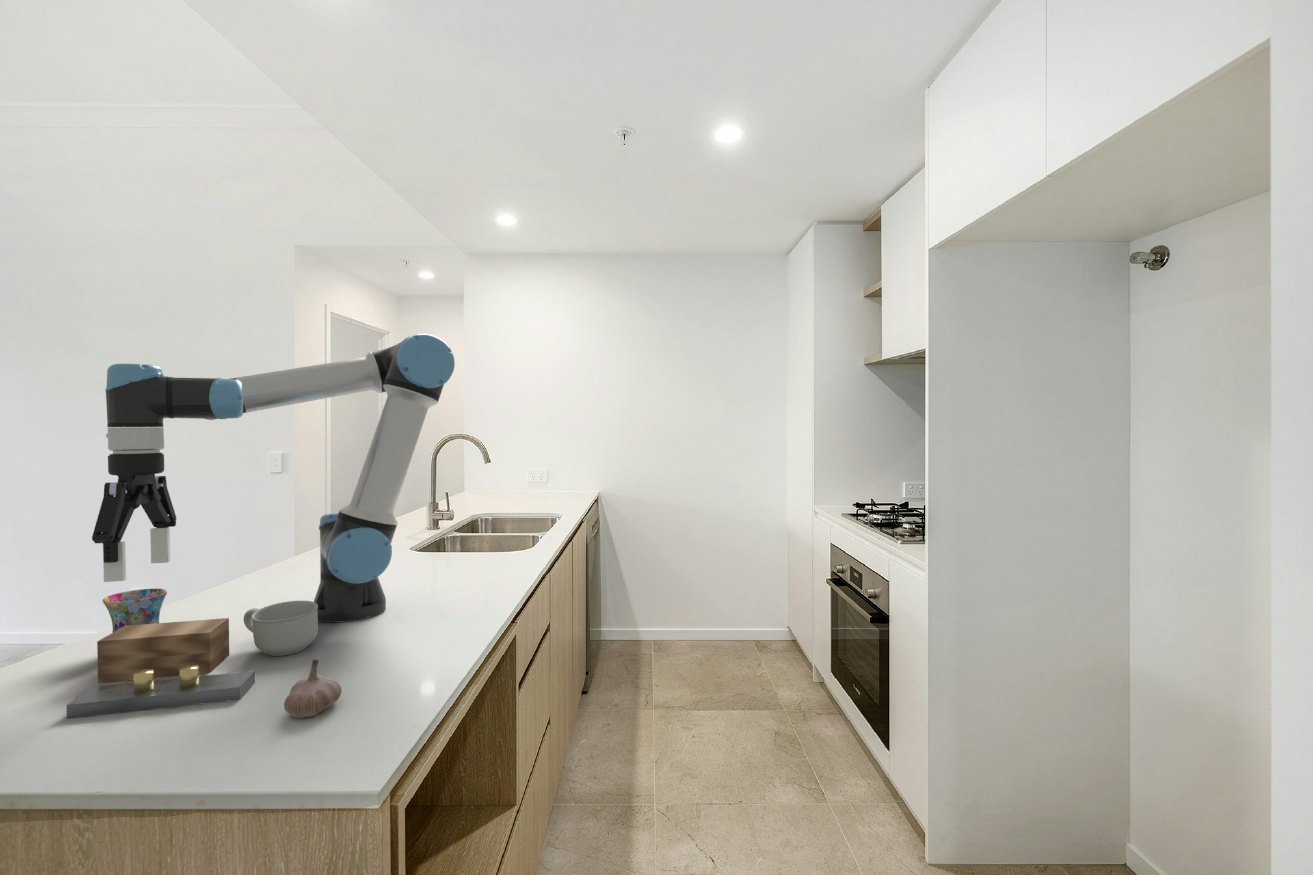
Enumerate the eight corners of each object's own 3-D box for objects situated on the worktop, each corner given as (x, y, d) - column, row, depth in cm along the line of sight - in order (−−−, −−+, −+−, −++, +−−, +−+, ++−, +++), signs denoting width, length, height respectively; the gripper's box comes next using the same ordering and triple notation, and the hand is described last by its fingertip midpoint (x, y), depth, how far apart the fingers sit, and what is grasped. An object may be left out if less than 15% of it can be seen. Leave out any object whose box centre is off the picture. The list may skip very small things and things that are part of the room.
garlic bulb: (339, 695, 95) (339, 645, 95) (344, 713, 89) (343, 660, 89) (283, 707, 91) (283, 655, 91) (284, 727, 85) (283, 672, 85)
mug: (153, 656, 111) (153, 599, 110) (91, 662, 108) (90, 603, 108) (183, 634, 122) (182, 583, 122) (127, 639, 119) (127, 586, 119)
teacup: (331, 643, 117) (331, 603, 117) (280, 664, 107) (280, 620, 107) (279, 635, 122) (278, 596, 122) (225, 654, 112) (224, 612, 111)
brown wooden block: (229, 655, 111) (228, 617, 111) (210, 672, 104) (209, 632, 103) (125, 664, 107) (125, 625, 107) (98, 683, 99) (97, 641, 99)
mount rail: (255, 682, 100) (254, 655, 99) (240, 699, 93) (239, 670, 93) (94, 698, 93) (93, 669, 93) (66, 718, 87) (66, 687, 87)
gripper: (151, 449, 117) (154, 557, 117) (59, 455, 93) (63, 591, 93) (196, 448, 119) (198, 554, 119) (117, 455, 94) (120, 588, 95)
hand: (139, 571), depth 106 cm, fingers open, 13 cm apart
